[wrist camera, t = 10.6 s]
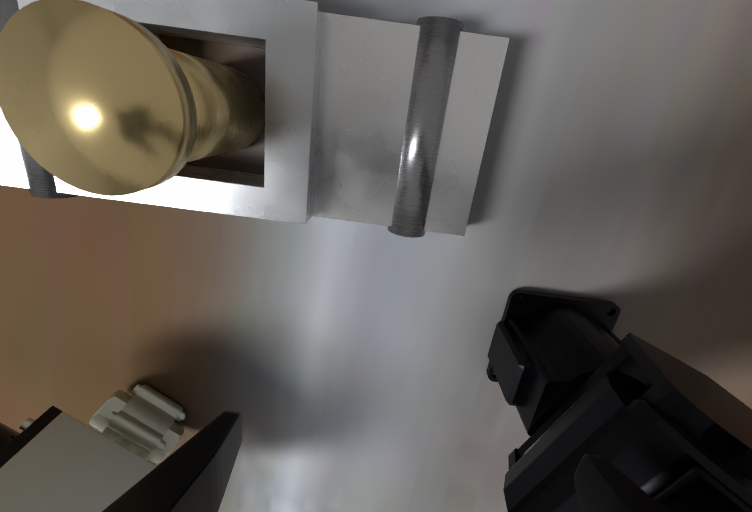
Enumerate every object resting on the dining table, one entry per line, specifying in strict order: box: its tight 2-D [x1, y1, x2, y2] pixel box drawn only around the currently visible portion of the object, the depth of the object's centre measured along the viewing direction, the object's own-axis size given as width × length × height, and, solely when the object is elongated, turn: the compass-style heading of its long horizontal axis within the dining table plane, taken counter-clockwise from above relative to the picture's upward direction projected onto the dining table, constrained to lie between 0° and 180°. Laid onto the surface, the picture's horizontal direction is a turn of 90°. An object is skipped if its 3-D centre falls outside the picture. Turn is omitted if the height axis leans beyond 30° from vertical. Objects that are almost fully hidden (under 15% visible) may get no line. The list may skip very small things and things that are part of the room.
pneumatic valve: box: [0, 384, 186, 512], centre depth 20 cm, size 6×12×12 cm, turn 48°
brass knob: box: [0, 0, 265, 196], centre depth 14 cm, size 5×5×9 cm
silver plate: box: [0, 0, 510, 237], centre depth 17 cm, size 23×10×3 cm, turn 83°
